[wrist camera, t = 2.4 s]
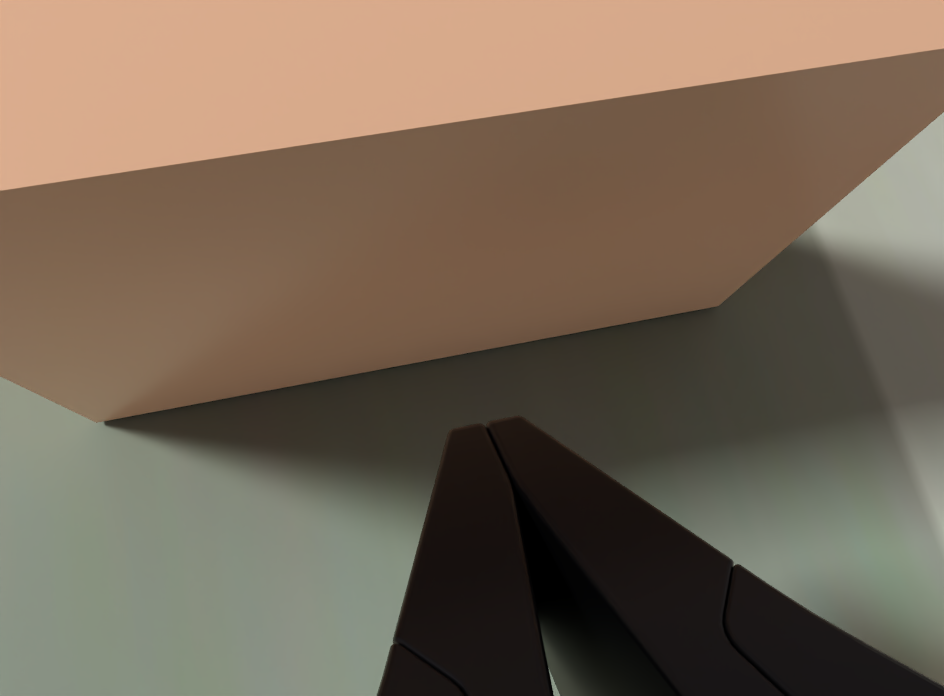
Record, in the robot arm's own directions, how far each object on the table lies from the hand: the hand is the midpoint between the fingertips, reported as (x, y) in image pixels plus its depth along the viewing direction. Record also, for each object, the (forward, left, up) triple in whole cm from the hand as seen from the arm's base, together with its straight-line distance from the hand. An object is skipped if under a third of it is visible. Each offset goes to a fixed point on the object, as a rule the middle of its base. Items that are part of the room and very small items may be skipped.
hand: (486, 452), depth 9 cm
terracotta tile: (+4, -2, -8) cm, 9 cm away
